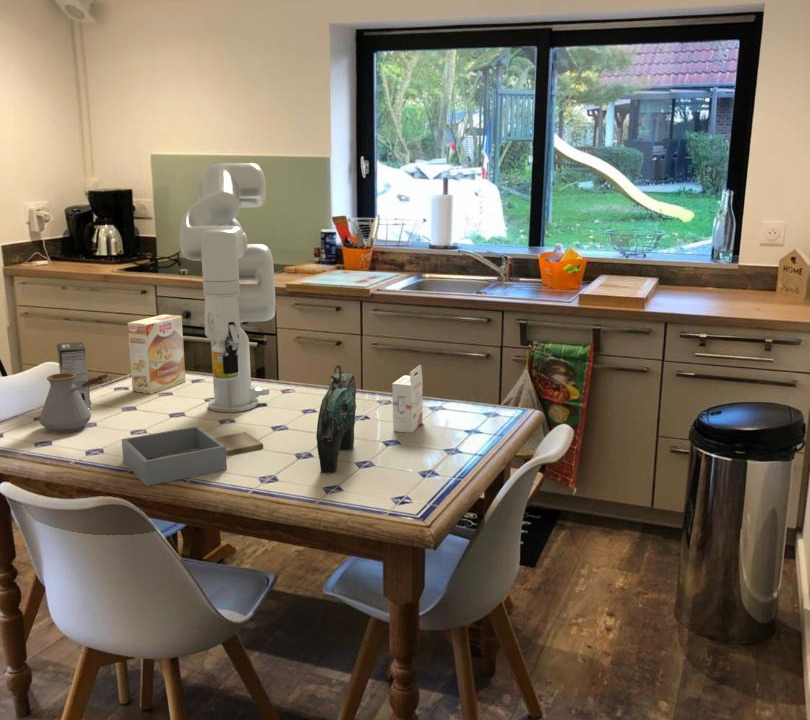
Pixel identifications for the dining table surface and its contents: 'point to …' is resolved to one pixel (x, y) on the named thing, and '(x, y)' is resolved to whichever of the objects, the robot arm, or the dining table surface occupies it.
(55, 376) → the coffee pot
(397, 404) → the ink cartridge box
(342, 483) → the dining table surface
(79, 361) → the coffee box
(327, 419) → the green animal figurine
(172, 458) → the bin
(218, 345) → the supplement bottle
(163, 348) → the coffeecake box
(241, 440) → the walnut board
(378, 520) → the dining table surface
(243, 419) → the dining table surface
